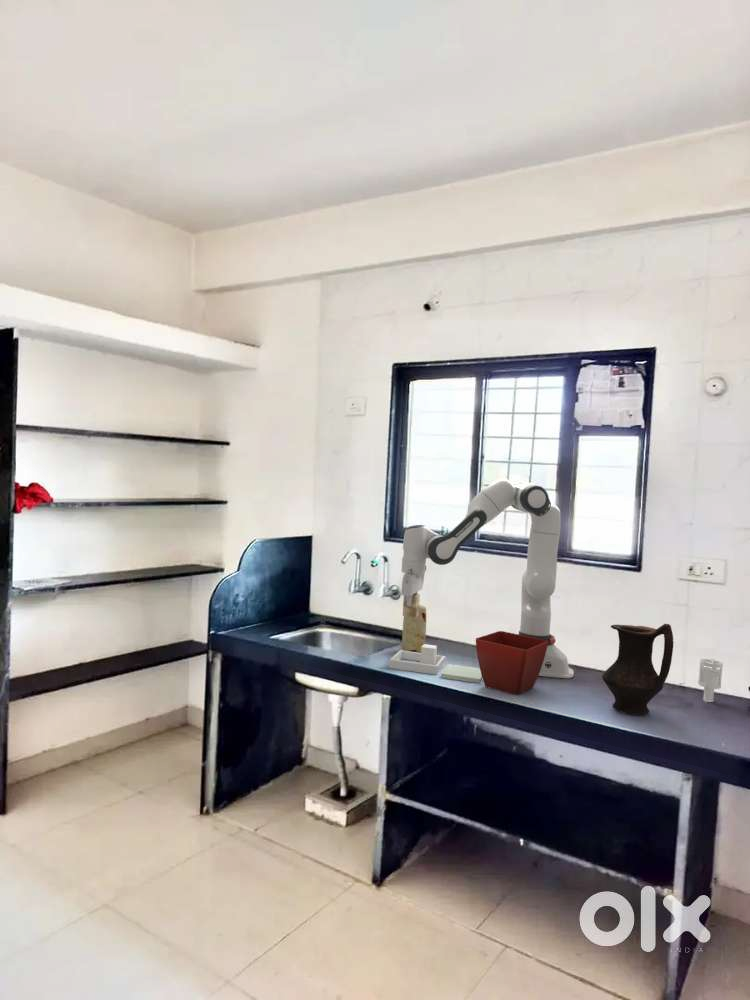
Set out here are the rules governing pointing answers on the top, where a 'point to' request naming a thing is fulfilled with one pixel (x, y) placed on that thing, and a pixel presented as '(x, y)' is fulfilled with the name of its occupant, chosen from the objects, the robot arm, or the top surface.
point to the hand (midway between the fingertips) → (411, 604)
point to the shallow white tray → (415, 667)
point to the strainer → (710, 677)
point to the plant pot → (510, 661)
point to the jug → (637, 668)
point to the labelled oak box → (411, 610)
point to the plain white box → (428, 654)
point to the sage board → (462, 673)
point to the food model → (414, 631)
